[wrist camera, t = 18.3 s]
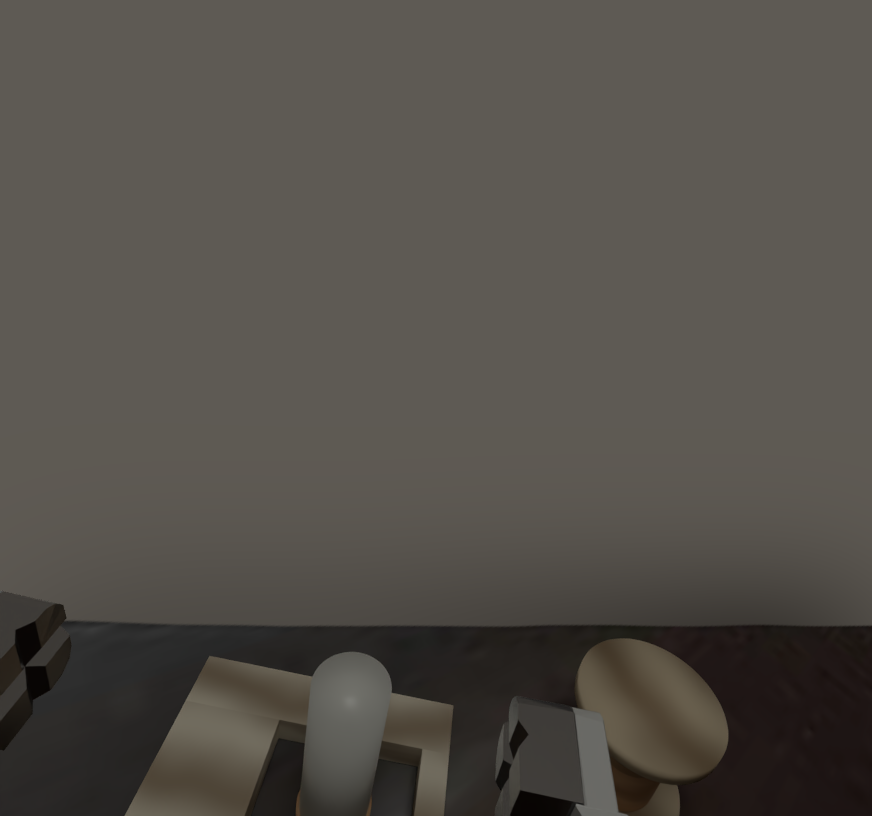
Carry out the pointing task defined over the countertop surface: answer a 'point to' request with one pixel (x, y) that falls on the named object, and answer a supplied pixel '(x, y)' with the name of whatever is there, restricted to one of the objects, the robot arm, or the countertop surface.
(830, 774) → the countertop surface
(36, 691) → the robot arm
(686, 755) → the spool
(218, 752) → the notch board
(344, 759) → the pin
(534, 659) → the countertop surface
